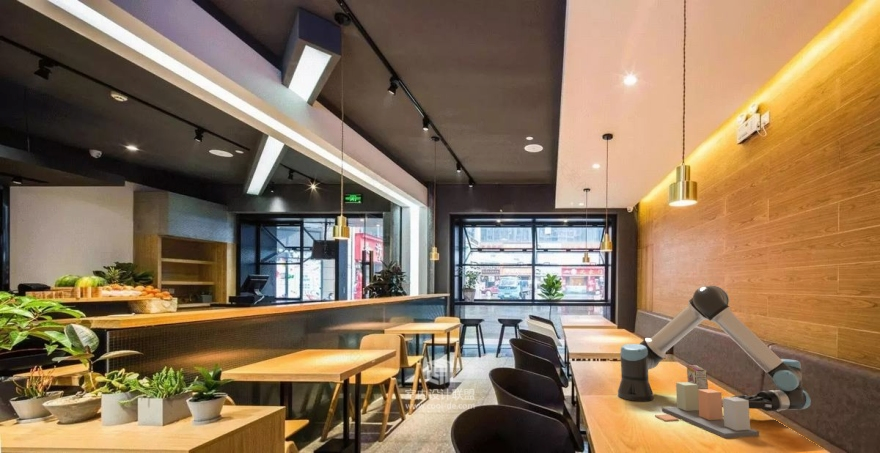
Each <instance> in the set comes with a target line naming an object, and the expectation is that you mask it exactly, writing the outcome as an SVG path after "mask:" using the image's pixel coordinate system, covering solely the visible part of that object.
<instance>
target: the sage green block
mask: <svg viewBox="0 0 880 453" xmlns="http://www.w3.org/2000/svg"><path fill="white" fill-rule="evenodd" d="M675 386H676V390H675V391H676V407H677V408H680V409H682V410H685V411H694V410H699V403H698V385H696V384H693V383H690V382H688V381H685V382H684V381H682V382H675Z"/></svg>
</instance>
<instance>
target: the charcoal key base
mask: <svg viewBox="0 0 880 453" xmlns="http://www.w3.org/2000/svg"><path fill="white" fill-rule="evenodd" d="M661 410H662V411H661V412H663V413H664V414H665V413H666V414H668V415H671V416H673V417H675V418H678V419H679V420H681V419H682V421H683V422H686V423H688V422H689V423H688V424H691V425H693V426H695V425H696V427H697V428H701V429H702V428H703V430H704V431H705V430H706V431H707V432H710V433H712V434H715V435H717V436H719V437H722V438H724V439H731V438H733V439H734V438H747V437H759V436H760V431H759V430H756V429H753V428H751V427H750V430H739V431H736V430H733V429H730V428H728V427H725V426H724V417H723V419H720V420H708V419H705V418H703V417H700V416H699V410H694V411H685V410H682V409H680V408H677V406H670V407H669V406H667V407H662V408H661Z"/></svg>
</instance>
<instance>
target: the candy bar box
mask: <svg viewBox="0 0 880 453" xmlns="http://www.w3.org/2000/svg"><path fill="white" fill-rule="evenodd" d="M686 374H687V375H686V376H687V377H686V378H687V382H690V383H693V384H696V385H698V390H701V389H709V386H708V371H707V370H706V369H704V368H702V367H701V366H699V365H694V364H693V365H691V364H688V365H686ZM698 403H699V401H698Z"/></svg>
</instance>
